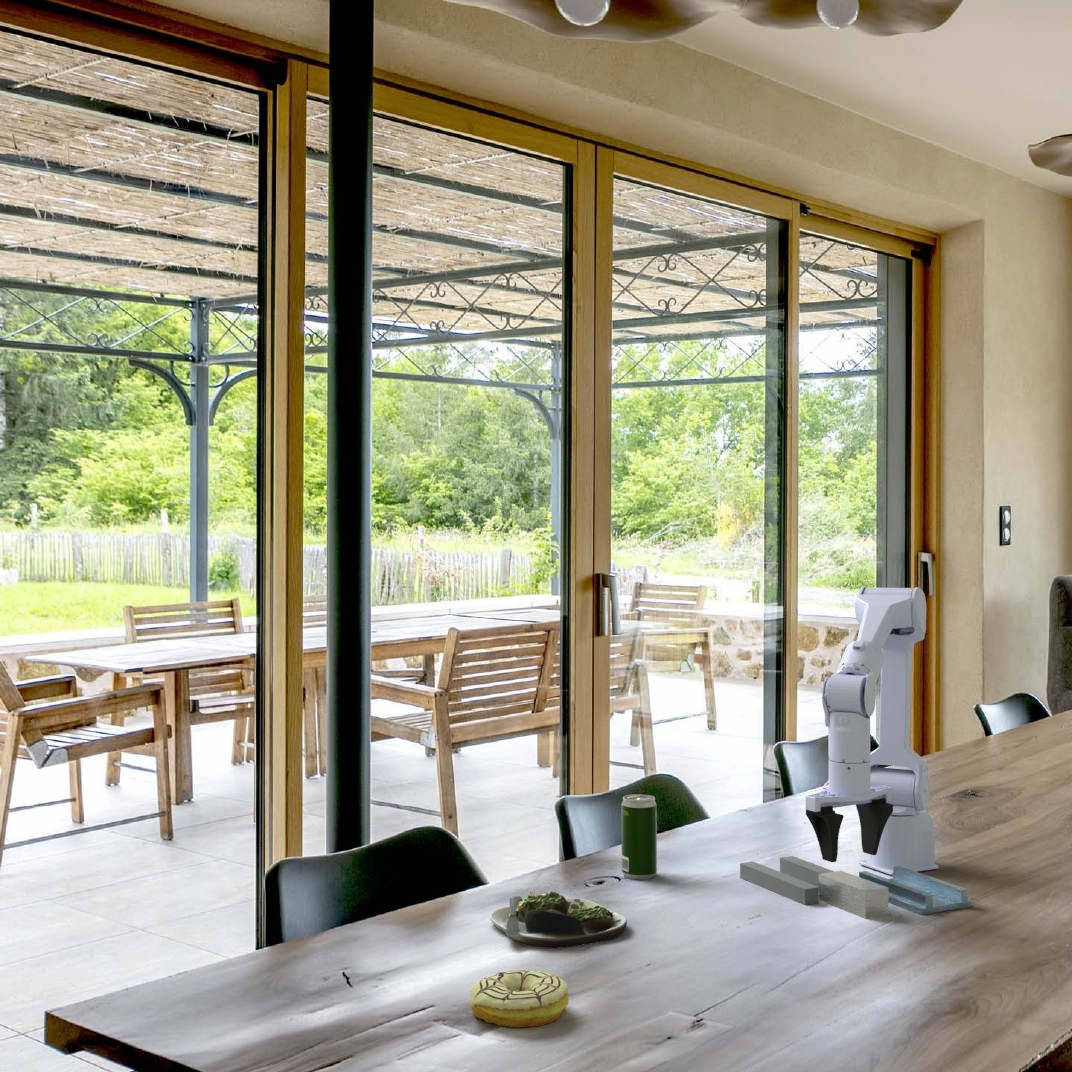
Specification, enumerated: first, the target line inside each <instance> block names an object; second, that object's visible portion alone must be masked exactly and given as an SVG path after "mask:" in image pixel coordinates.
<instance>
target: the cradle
mask: <svg viewBox="0 0 1072 1072" xmlns="http://www.w3.org/2000/svg"><path fill="white" fill-rule="evenodd" d="M858 877H860V878H863V879H866V880H869V881H871V882H874V883H877V884H880V885H883V886H885V887H888V904H889V903H890V904H893V905H895V906H898V907H900V908H903V909H906V910H908V911H910V912H914V913H917V914H919V915H921V916H922V915H923V916H924V915H929V914H936V913H941V912H946V911H952V910H953V911H954V910H958V909H963V908H965V909H966V908H970V907H972V906H973V905H972V904H973V902H972V900H971V899H969V895H968V894H969V889H968V888H966V887H962V886H959V885H957V884H953V883H950V882H947V881H945V880H942V879H939V878H935V877H934V876H930V875H926V874H924V873H921V872H919V871H918V872H915V871H913V870H910V869H907V868H904V867H901V866H896V867H893V875H892V878H886V877H883V876H880V875H877V874H874V873H872V872H869V871H865V870H863V871H859V872H858Z"/></svg>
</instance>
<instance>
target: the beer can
mask: <svg viewBox="0 0 1072 1072" xmlns="http://www.w3.org/2000/svg"><path fill="white" fill-rule="evenodd" d="M655 800H656V797H655V796H654V795H651V794H639V793H638V794H627V795H624V796H622V802H621V805H620V806H621V810H620V814H621V823H620V824H621V872H622V875H623V876H624V878H627V879H630V880H636V881H638V880H639V881H640V880H641V881H642V880H643V881H645V880H650V879H653V878H655V877H656V874H657V871H658V869H657V868H658V867H657V866H658V857H657V854H658V852H657V850H658V848H657V847H658V846H657V842H658V841H657V840H658V839H657V837H658V836H657V835H658V834H657V833H658V832H657V831H658V827H657V825H658V824H657V822H658V821H657V820H658V819H657V802H656V801H655Z"/></svg>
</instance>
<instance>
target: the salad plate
mask: <svg viewBox="0 0 1072 1072" xmlns="http://www.w3.org/2000/svg"><path fill="white" fill-rule="evenodd" d="M489 919H490V921H491V923H492V924H493V925H494V926H495V927H496V928H497V929H498V930H500V931H502V932H503V933H505V935H506V936H507V937H508V938H510V939H512V940H513V941H515V942H517V943H518V944H521V945H524V946H527V947H532V948H539V947H540V948H542V949H559V948H558V947H564V948H571V947H578V946H579V945H580V946H583V945H582V944H585V945H590V944H591V943H592V944H596V942H598V943H602V942H601V941H603V942H606V941H610V940H613V939H616V938H617V937H619V936H620V935H622V933H623V932H624V931H625V930H626V928H627V925H628V920H627V917H625V916H624V915H622V914H620V913H617V912H615V911H612V910H611V909H608V908H606V907H605V906H603V905H601V904H599V903H596V902H595V901H592V900H590V899H582V898H572V897H571V898H569V897H568V898H567V897H566V898H565V896H564V895H562V894H559V893H558V892H556V891H552V890H550V891H549V892H545V893H542V894H537V895H536V894H535V892H534V891H530V892H529V894H527V897H526V898H522V896H520V895H515V896H511V897H510V898H509V904H508V906H506V907H501V908H498V909H495V910H494V911H493V912H492V913H491V914H489ZM580 946H579V947H580Z"/></svg>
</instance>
